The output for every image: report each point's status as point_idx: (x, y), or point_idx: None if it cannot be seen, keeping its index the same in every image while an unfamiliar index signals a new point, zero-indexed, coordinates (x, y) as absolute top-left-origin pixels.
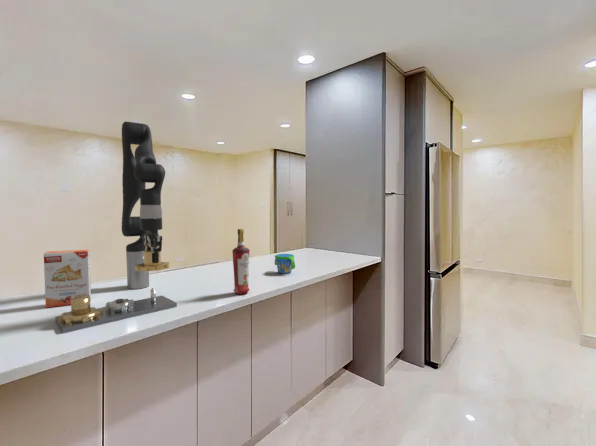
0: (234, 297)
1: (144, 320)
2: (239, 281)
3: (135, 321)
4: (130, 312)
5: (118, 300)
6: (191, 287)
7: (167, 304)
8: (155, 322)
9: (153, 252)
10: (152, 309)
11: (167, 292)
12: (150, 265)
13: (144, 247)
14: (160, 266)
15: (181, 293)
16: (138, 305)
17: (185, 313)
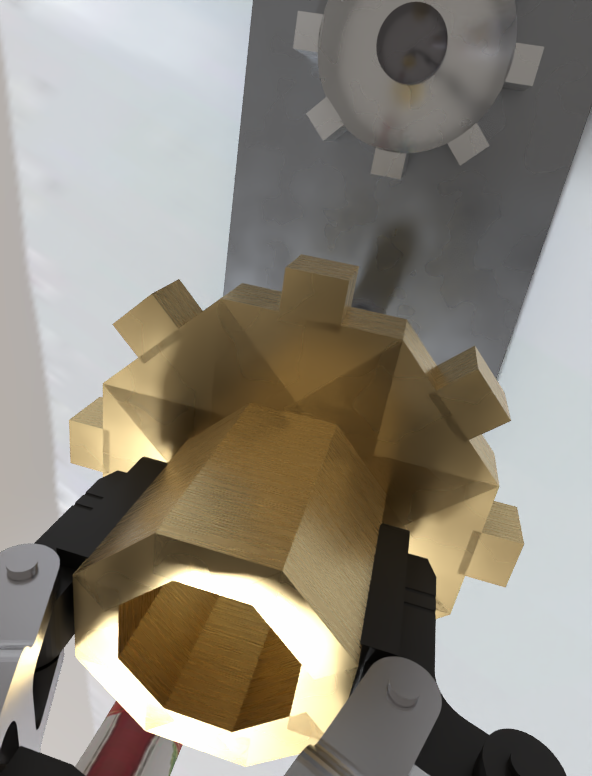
0: None
1: (128, 105)
2: (104, 732)
3: (152, 51)
4: (263, 76)
5: (391, 19)
6: (526, 703)
7: None
8: (47, 131)
9: (9, 558)
10: (231, 235)
11: (585, 571)
12: (205, 429)
13: (486, 772)
14: (73, 457)
15: (460, 587)
16: (380, 214)
17: (74, 332)
